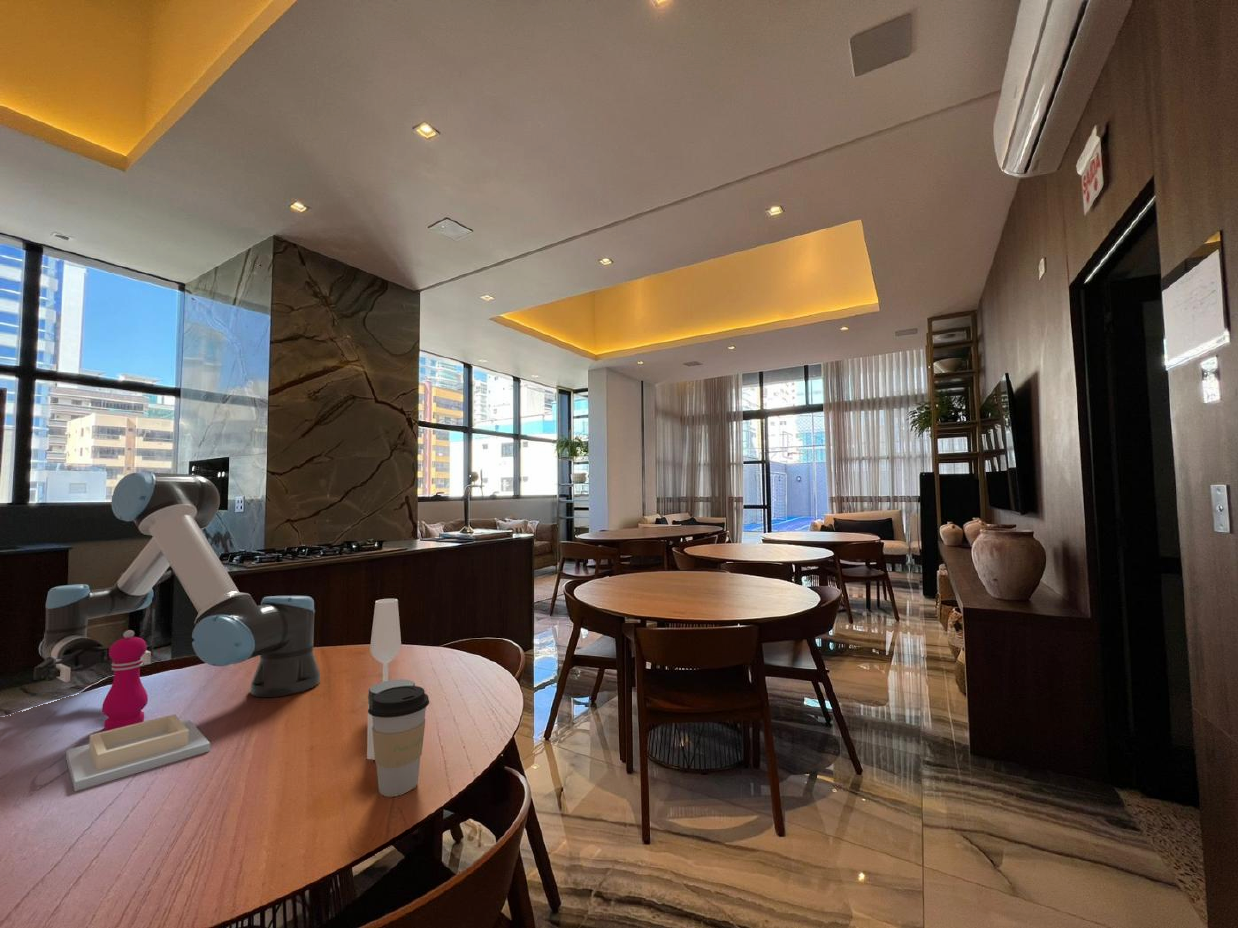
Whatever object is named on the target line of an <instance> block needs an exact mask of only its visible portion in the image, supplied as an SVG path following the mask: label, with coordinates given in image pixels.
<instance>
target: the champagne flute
mask: <svg viewBox="0 0 1238 928" xmlns="http://www.w3.org/2000/svg"><path fill="white" fill-rule="evenodd" d="M373 613H374V614H373V619H372V621H373V622H372V629H371V638H370V646H369V651H370V654H371V656H373V658H374V659H375V660H376V661H378V662H379V663H381V664H382V682H385V681H389V663H390V662H391V661H393V660H394V659H395V657H397V655H398V654H399V653H400V651H401V649H402V641H401V640H402V637H401V627H400V624H401V623H400V616H399V614H400V613H399V600H398V599H397V598H383V599H378V600H375V604H374V612H373Z"/></svg>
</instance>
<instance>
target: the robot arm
mask: <svg viewBox="0 0 1238 928" xmlns="http://www.w3.org/2000/svg"><path fill="white" fill-rule="evenodd" d="M220 496H221V495H220V492H219V490H218V488H217V487H216V486H215V483H214V482H212V481H211V480H210V479H208V478H206V477H204V476H201V475H199V474H192V473H169V472H167V473H166V472H152V471H145V472H143V471H141V472H132V473H128V474H126V475H125V476H123V477H122V478H121V479H120V480H119V481H118V482H117V484H116V485H115V487H114V490H113V492H112V495H111V505H110V506H111V510H112V512H113V515H114V516H115V517H116V518H117V519H119V520H120V521H125V522H134V523H135V525H136V527H137V528H138V531H139V532H140V533H141V534H143V535H145V536H146V535H147V536H152V537H151V539H150V540H149V541H148V543H147V544H146V545H145V546H144V548H143V549H142V550H141V551H140V552H139V554H138V556H137V557H136V558H135V559H134V560H133V561H132V563H131V564H130V565H129V567H128V568H127V569H126V570H125V572H124V573H123V574H122V575H121V576H120V578H119V579H118V580H117V581H116V582H115V584H114V585H113V586H110V587H105V588H98V589H97V588H96V589H90V586H89V585H88V584H85V583H84V584H83V583H81V584H70V585H69V584H66V585H58V586H55V587H52V588H50V589H49V590H48V591H47V597H46V601H45V629H44V634H43V639H42V640H41V641H40V643H39V646H38V653H39V655H40V656H41V657H42V659H44V661H42V662H41V663H39V664H38V665H37V666H35V667H34V670H33V680H34V681H35V680H36V681H37V680H40V679H43V678H44V677H46V679H45V680H46V682H52V681H55V678H56V679H58V680H60V681H62V682H64V683H67V682H71V672H75V673H76V672H84V671H87V670H89V669H91V668H93V667H94V666H96V665H98V664H106V663H107V664H109V663H112V662H114V661H113V660H112V659H111V658H110V657H109V650H110V647H111V646H106V647H104V646H103V644H102V643H101V642H100V641H98V640H96V639H94V638H91V637H88V636H87V632H88V631H87V630H88V622H89V620H92V619H97V618H102V617H103V618H104V617H108V616H113V615H114V616H116V615H120V614H126V613H133V612H136V611H140V610H143V609H146V608H148V607H149V606H150V605H151V604H152V601H153V598H154V590H153V587H155V585H156V583H157V582H158V581H159V580H160V578H162V576H163V575H164V573H165V572H166V571H167V570H168V569H169V567H170V568H171V569H172V571H173V572H174V574H175V577H176V578H177V579H178V581H179V582H180V584H181V586H182V588H183V589H184V591H185V593H186V594H187V596H188V597H189V599H190V602H191V603H192V604H193V607H194V608H195V610H196V611H197V613H198V614H197V616H196V618H195V620H194V625H195V626H194V628H193V630H192V634H191V638H192V639H193V641H192V642H191V644H192V645H191V646H192V648H193V651H194V653H195V654H196V656H197V658H199V659H200V660H201V661H202V662H204V663H205V664H207V665H209V666H212V667H227V666H231V665H237V664H240V663H243V662H245V661H247V660H250V659H252V658H256V657H258V656H259V662H258V664H257V667H256V670H255V672H254V675H253V678H252V679H251V683H250V695H251V696H254V697H257V698H275V697H277V698H278V697H283V696H290V695H294V694H298V693H301V692H305V691H307V689H308V690H310V689H309V688H311V689H312V688H314V686H315V687H316V686H318V685H319V684H320V683H321V672H320V671H321V670H320V668H319V665H318V663H317V660H316V658H315V657H316V656H315V655H314V640H315V639H314V638H315V637H314V636H315V633H314V632H315V613H316V610H315V600H314V599H313V598H312V597H311V596H308V595H274V596H272V595H270V596H264V597H263V598H262V599H261V602H260V604H259V605H257V603H256V602H255V600H254V599H253V597H252V595H251V594H249V593H248V592H240V591H239V589H238V587H237V586H236V583H235V582H234V580H233V579H232V578H231V576H230V574H229V573H228V571H227V570H226V567H225V566H224V565H223V563H222V561H221V560H220V558H219V557H218V555H217V554H216V552H215V551H214V548H213V547H212V545H211V544H210V542H209V541H208V539H207V537H206V536H205V534H204V533H203V531H202V530H204V529H206V528H207V527H208V526H209V525H210V524H211V522H213V520H214V519H215V517H216V516H217V513H218V511H219V508H220V504H221V497H220ZM146 646H147V648H146V652H145V653H144V654H143V655H142V656H141V658H143V661H142V663H143V664H144V665H151V659H152V657H153V655H154V645H153V644H152V645H151V644H150V645H149V644H148V645H147V644H146ZM319 682H320V683H319ZM318 683H319V684H318ZM317 684H318V685H317Z"/></svg>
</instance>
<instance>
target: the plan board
mask: <svg viewBox="0 0 1238 928" xmlns="http://www.w3.org/2000/svg"><path fill="white" fill-rule="evenodd" d="M210 751H211V742H210V741H209V740H208V739H207V737H205V735H204V734H203V733H202V732H201V731H200V730H199V729H198V728H197V726H196V725H195V724H194V723H193V722H192V721H191V720H190V719H189V718H186V719H182V720H181V719H180V718H179V717H177V715H176V714H170V715H166V716H162V717H157V718H154V719H149V720H146V721H145V720H144V721H143V722H141V723H137V724H132V725H128V726H124V727H120V728H116V729H112V730H108V731H106V730H104V731H100V732H96V733H92V734H90V735H89V743H88V744H82V745H80V746H77V747H72V748H68V749H66V753H65V759H66V763H67V766H68V771H69V775H70V778H71V782H72V785H73V790H74V792H78V791H80V790H84V789H88V788H91V787H94V786H98V785H102V784H104V783H108V782H111V781H114V780H118V779H122V778H124V777H128V776H131V775H135V774H137V773H141V772H145V771H148V770H152V769H155V768H158V767H162V766H164V765H168V764H171V763H175V762H178V761H181V760H185V759H189V758H192V757H195V756H198V755H201V754H205V753H207V752H208V753H209V752H210Z"/></svg>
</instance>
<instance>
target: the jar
mask: <svg viewBox="0 0 1238 928" xmlns="http://www.w3.org/2000/svg"><path fill="white" fill-rule="evenodd" d="M399 686H416V684H415V682H414V681H413V680H409V679H403V678H402V679H391V680H388V681H385V682H383V681H381V682H378V683H376V684H373V685H372V686H371V687H370V688H368V694H367V697H368V698H367V700H368V702H367V703H368V708H367V710H368V709H369V705H370V703H371V702H372V701H373V698H374V696H375V695H376V694H377V693H379V692H381V691H383V690H386V689H389V688H393V687H399ZM372 727H373V720H372V715H370V714H369V713H368V712H367V739H366V740H367V744H366V746H367V748H366V759H375V754H374V743H373V732H372Z"/></svg>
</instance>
